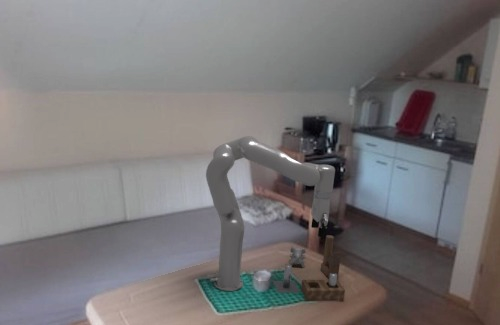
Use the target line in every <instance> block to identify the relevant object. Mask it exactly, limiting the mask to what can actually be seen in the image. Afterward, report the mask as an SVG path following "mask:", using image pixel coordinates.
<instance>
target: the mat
mask: <svg viewBox="0 0 500 325" xmlns="http://www.w3.org/2000/svg"><path fill="white" fill-rule="evenodd" d="M272 283H273V285H274V287H275V288H274V289H275V290H276V293H278V294H281V293H284V294H286V293H289V294H291V293H293V294H294V293H295V294H296V293H297V294H298V293H301V291H300V289H299V287H298V285H297V283H296V281H295V280H290V288H284V287H283V280H272Z"/></svg>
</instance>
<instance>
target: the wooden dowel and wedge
mask: <svg viewBox="0 0 500 325" xmlns="http://www.w3.org/2000/svg"><path fill="white" fill-rule="evenodd" d="M334 239H335V237H334V236H333V235H329V234H327V235H326V236H325V243H324V249H323V250H324V251H323V258H322V259H323V260H322V263H321V264H320V271H321V272H322V273H323V274H324V275H325V276H326V277H327V279H329V278H330V273H336V274H337V280H338V281H339V273H340V263H341V257H342V251H335V252H333V248H334Z"/></svg>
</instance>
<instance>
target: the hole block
mask: <svg viewBox="0 0 500 325" xmlns="http://www.w3.org/2000/svg"><path fill="white" fill-rule="evenodd" d="M328 286H329V279H302V280H301V286H300V290H301V292H302V294H303V297H304V299H305V301H306V302H309V301H310V302H315V301H316V302H319V301H320V302H321V301H322V302H323V301H324V302H325V301H327V302H328V301H331V302H332V301H335V302H336V301H338V302H344V301H345V300H344V299H345V292H346V290H345V288H344V287H343V285H342V284H341V282H340V281H339V279H338V280H337V281H336V288H329V287H328Z"/></svg>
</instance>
